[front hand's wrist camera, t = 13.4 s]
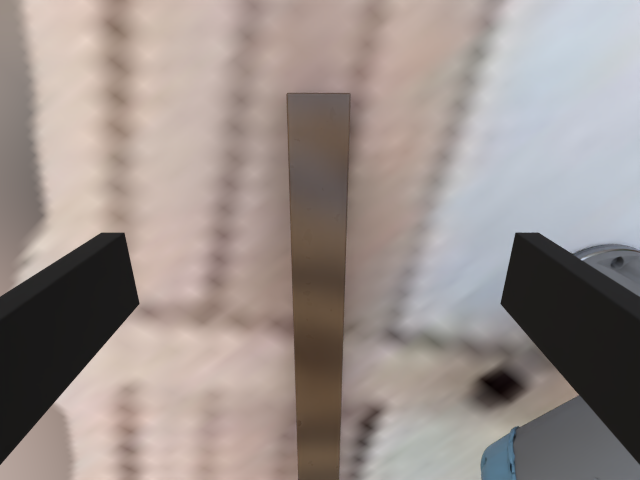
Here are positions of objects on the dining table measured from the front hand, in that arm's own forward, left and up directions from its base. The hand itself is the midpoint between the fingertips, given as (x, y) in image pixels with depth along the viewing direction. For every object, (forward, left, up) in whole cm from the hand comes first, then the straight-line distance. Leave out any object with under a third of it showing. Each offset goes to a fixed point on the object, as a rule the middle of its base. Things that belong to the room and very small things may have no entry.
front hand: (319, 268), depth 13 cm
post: (+24, +17, -27) cm, 40 cm away
